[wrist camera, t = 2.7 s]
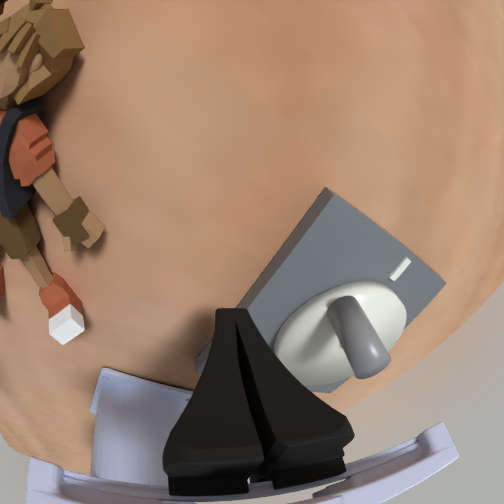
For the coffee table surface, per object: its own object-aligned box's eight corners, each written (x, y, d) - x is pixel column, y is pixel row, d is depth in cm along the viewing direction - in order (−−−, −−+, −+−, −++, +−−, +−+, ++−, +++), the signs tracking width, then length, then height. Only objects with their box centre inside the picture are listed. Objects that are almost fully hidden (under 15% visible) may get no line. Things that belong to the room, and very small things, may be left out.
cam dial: (393, 343, 20) (421, 393, 16) (289, 385, 20) (306, 443, 16) (401, 254, 15) (454, 315, 10) (253, 311, 15) (273, 395, 11)
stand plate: (326, 384, 24) (330, 394, 23) (195, 359, 18) (196, 373, 17) (439, 275, 18) (447, 284, 17) (325, 186, 13) (335, 196, 12)
